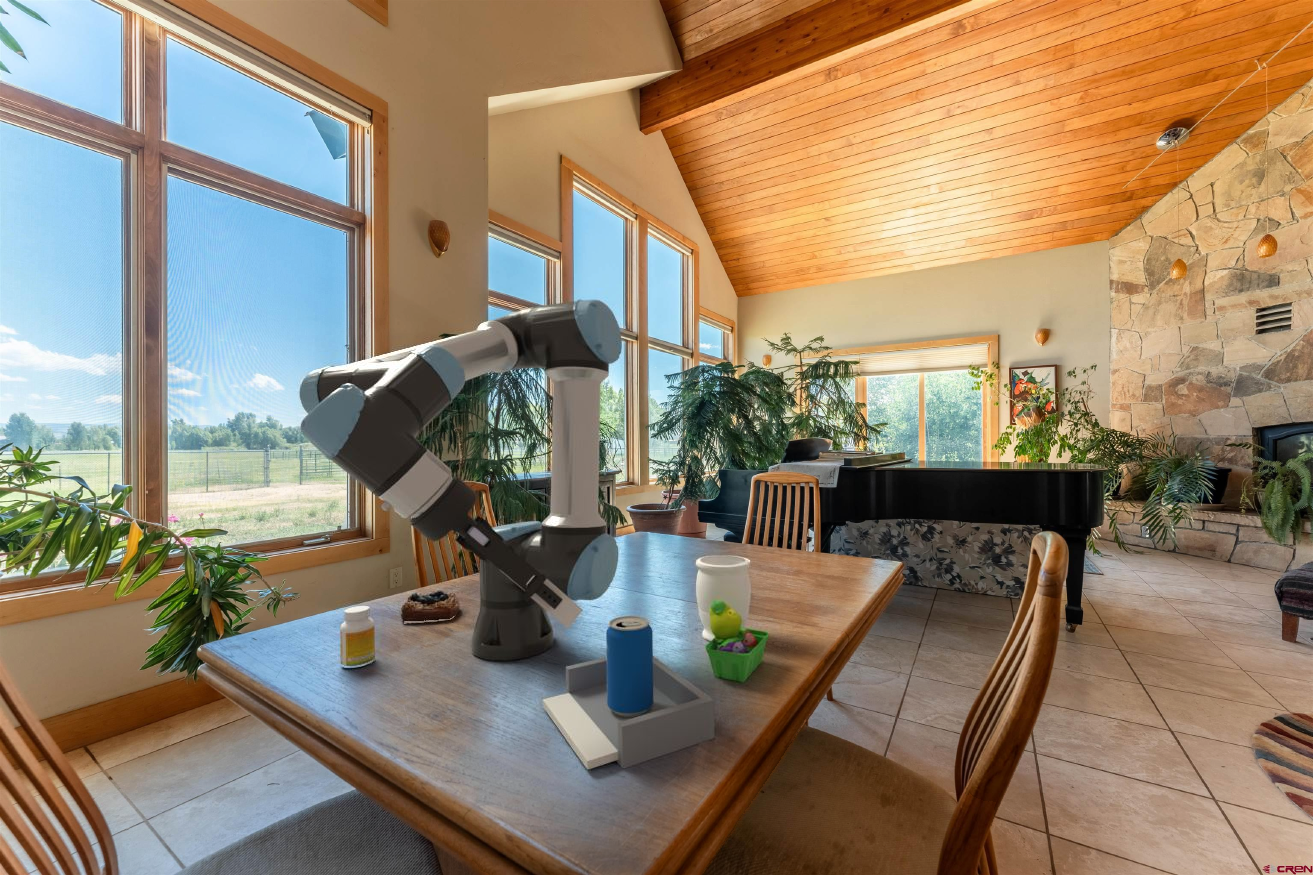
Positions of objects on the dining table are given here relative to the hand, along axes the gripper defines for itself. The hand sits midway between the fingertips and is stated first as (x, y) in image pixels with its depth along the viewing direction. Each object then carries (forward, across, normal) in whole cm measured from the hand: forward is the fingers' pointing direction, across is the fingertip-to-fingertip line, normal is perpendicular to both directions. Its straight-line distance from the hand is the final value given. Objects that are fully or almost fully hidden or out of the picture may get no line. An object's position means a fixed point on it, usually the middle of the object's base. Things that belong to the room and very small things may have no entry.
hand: (556, 603), depth 72 cm
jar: (+41, -19, +16) cm, 48 cm away
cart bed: (+19, 0, -6) cm, 20 cm away
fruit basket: (+36, -6, +10) cm, 38 cm away
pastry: (+7, -64, -19) cm, 67 cm away
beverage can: (+19, 0, -4) cm, 19 cm away
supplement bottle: (-3, -42, -29) cm, 51 cm away
